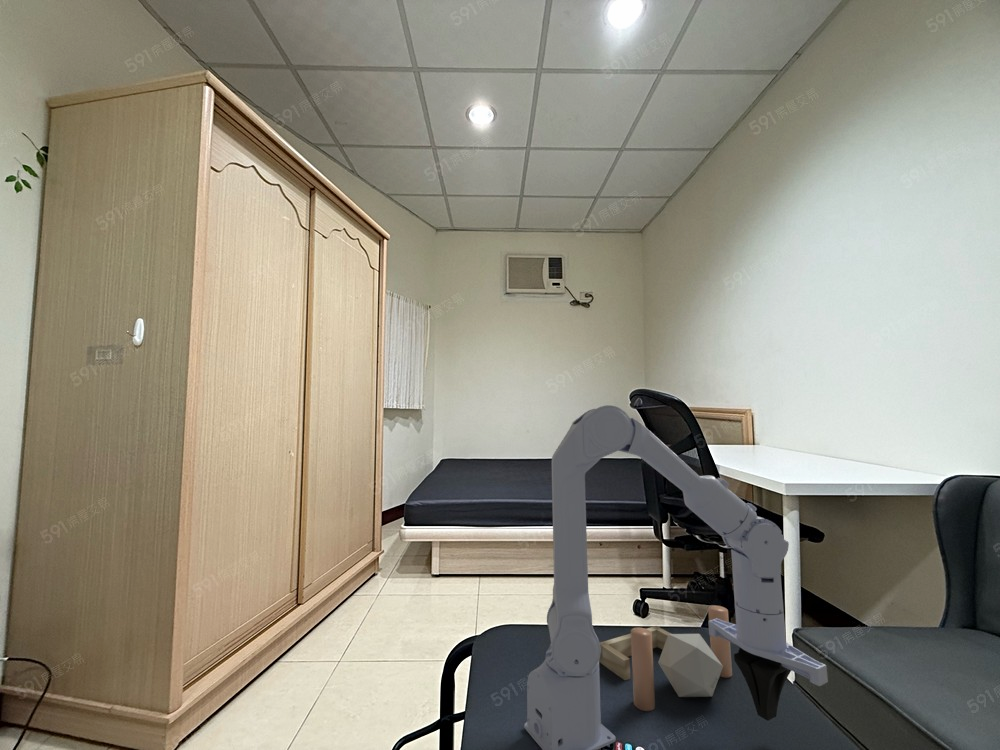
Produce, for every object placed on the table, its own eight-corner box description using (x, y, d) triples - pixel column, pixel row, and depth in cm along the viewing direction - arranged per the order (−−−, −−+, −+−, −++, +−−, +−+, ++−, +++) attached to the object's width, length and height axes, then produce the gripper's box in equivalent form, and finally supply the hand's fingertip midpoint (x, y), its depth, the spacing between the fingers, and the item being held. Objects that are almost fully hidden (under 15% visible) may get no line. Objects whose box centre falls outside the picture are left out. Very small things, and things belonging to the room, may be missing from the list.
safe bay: (624, 680, 68) (624, 660, 68) (598, 661, 74) (597, 643, 74) (685, 658, 75) (684, 640, 75) (656, 642, 80) (656, 625, 81)
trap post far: (724, 679, 68) (720, 614, 70) (708, 670, 71) (704, 607, 72) (736, 674, 70) (731, 610, 71) (719, 665, 72) (715, 604, 74)
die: (719, 722, 59) (738, 652, 63) (661, 683, 61) (684, 618, 65) (695, 709, 66) (713, 647, 70) (644, 675, 68) (665, 617, 72)
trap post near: (644, 713, 60) (641, 638, 61) (629, 701, 63) (626, 630, 64) (659, 707, 61) (656, 634, 63) (643, 695, 64) (640, 625, 65)
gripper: (835, 620, 53) (847, 740, 51) (727, 584, 65) (733, 678, 64) (804, 633, 49) (816, 761, 48) (696, 591, 62) (702, 691, 60)
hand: (766, 715), depth 55 cm, fingers closed
